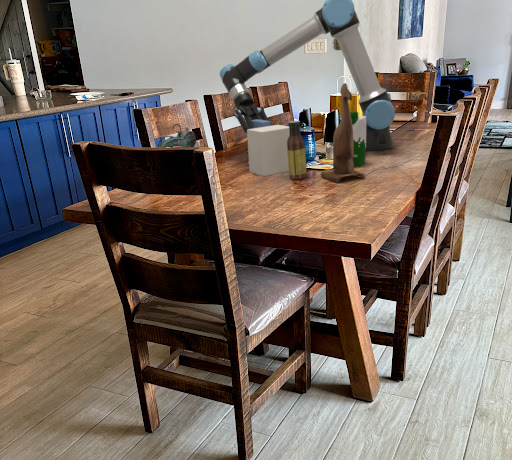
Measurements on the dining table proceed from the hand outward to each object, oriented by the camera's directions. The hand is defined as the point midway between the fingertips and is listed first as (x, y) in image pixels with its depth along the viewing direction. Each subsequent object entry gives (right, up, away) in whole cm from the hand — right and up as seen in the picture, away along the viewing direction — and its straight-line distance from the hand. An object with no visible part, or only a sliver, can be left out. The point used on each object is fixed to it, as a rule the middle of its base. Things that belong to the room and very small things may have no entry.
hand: (266, 143), depth 199 cm
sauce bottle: (+11, -15, -18) cm, 26 cm away
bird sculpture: (+26, -16, -22) cm, 38 cm away
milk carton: (+33, -9, -5) cm, 35 cm away
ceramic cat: (-32, -15, -10) cm, 37 cm away
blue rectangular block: (-2, -3, +4) cm, 6 cm away
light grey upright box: (-1, -9, 0) cm, 9 cm away
